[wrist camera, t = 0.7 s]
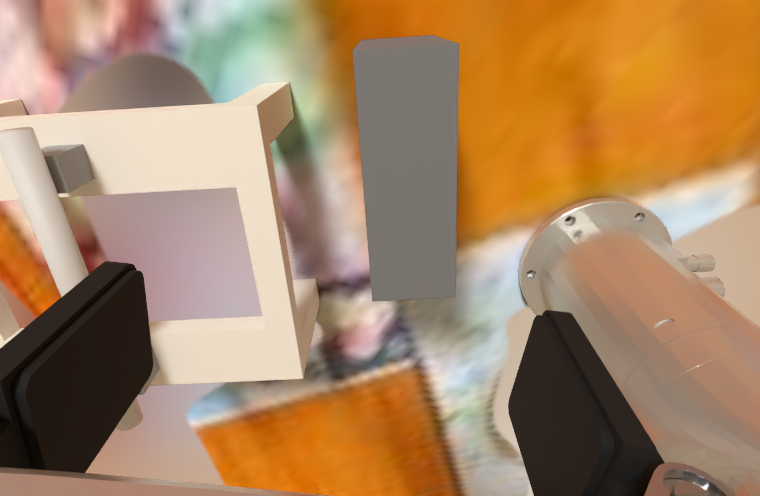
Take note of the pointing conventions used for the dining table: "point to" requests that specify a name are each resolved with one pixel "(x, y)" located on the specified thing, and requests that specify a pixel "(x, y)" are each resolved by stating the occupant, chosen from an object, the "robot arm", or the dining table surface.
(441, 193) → the grey piece
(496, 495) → the dining table surface
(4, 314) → the cream frame with rod
